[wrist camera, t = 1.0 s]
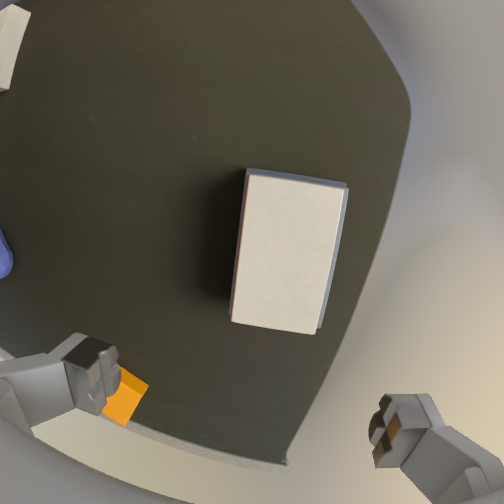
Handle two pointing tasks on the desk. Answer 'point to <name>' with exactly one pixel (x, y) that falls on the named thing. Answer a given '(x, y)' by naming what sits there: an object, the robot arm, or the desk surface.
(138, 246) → the desk surface
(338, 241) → the grey pile
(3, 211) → the desk surface
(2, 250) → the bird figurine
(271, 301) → the cream book
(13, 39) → the cream pile
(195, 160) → the desk surface
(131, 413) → the orange square tile
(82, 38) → the desk surface
